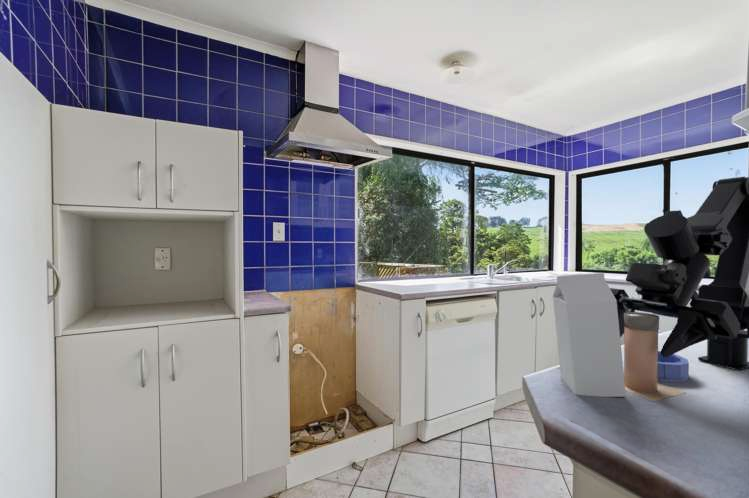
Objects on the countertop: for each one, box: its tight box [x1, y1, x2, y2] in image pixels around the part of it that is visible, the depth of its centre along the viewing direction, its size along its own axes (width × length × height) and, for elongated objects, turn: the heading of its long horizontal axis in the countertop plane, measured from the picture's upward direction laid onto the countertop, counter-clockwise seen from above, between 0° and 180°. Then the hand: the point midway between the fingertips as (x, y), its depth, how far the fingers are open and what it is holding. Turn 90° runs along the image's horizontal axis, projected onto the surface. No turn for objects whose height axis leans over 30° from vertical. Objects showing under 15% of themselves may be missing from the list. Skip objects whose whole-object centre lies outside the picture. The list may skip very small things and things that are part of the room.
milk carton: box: [552, 272, 627, 398], centre depth 57 cm, size 7×7×19 cm
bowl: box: [658, 350, 690, 383], centre depth 63 cm, size 9×9×4 cm
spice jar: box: [623, 311, 660, 393], centre depth 56 cm, size 5×5×12 cm
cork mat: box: [625, 383, 686, 402], centre depth 57 cm, size 8×8×1 cm
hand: (635, 348), depth 56 cm, fingers open, 8 cm apart
